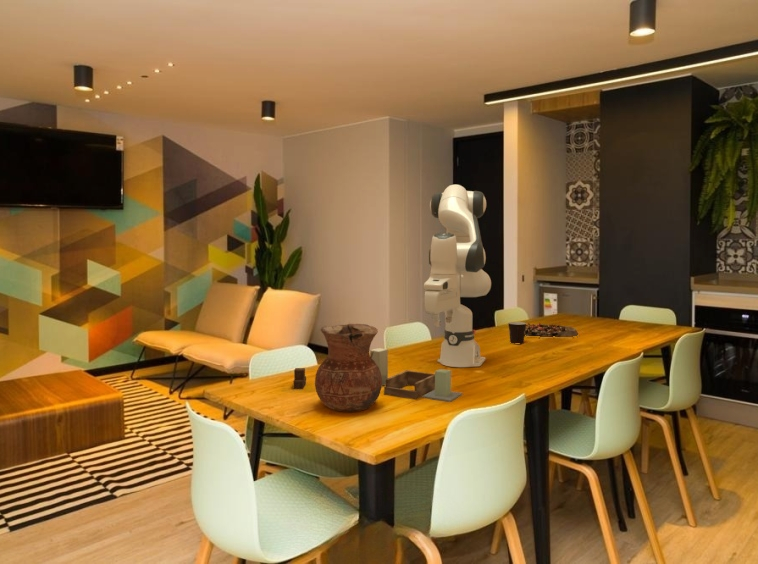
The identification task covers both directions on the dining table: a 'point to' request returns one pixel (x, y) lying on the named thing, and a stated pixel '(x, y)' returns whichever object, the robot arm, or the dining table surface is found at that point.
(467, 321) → the robot arm
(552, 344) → the dining table surface
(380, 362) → the box
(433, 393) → the pad
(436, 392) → the block
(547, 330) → the food dish
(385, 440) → the dining table surface
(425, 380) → the caddy
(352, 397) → the brown clay vase
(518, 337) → the dark brown cup
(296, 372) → the stack of crates
